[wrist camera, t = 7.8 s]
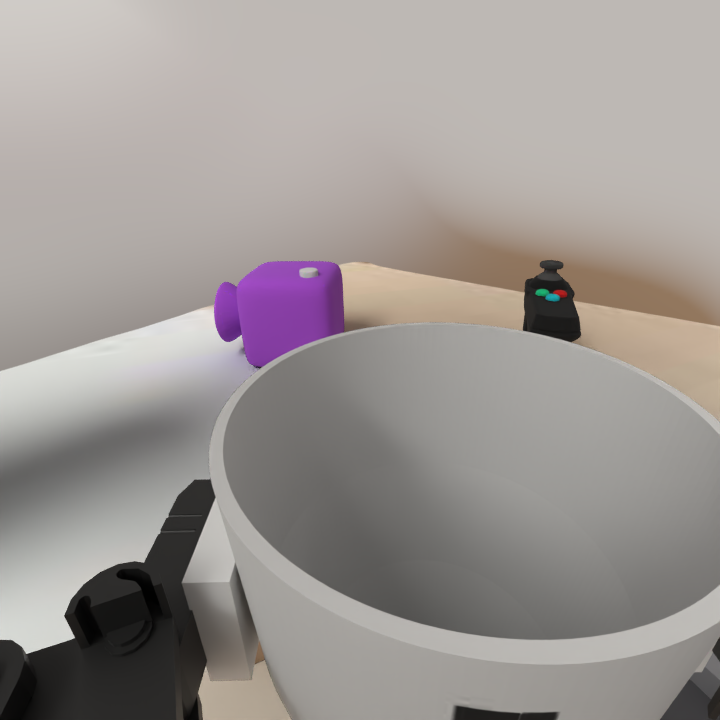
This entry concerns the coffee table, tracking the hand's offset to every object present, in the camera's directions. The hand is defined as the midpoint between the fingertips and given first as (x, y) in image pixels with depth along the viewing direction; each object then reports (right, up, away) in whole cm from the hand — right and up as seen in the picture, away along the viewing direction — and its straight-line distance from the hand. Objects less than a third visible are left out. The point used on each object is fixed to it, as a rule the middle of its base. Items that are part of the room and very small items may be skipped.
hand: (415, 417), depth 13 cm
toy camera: (-10, +2, +35) cm, 36 cm away
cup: (0, -8, -1) cm, 8 cm away
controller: (+16, 0, +29) cm, 33 cm away
